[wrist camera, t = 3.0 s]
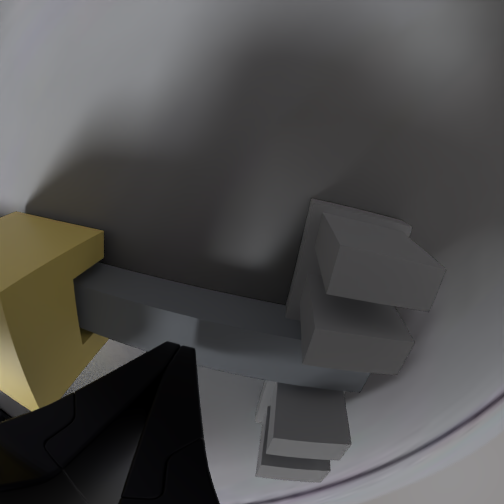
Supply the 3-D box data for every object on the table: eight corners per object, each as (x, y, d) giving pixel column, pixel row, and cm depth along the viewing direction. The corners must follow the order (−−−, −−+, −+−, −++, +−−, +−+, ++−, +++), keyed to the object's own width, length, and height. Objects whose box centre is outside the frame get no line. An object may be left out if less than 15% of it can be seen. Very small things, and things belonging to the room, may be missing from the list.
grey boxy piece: (402, 220, 8) (460, 263, 5) (322, 417, 12) (326, 484, 8) (311, 198, 9) (327, 230, 5) (256, 408, 12) (246, 477, 8)
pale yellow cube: (103, 230, 9) (-1, 292, 5) (109, 337, 11) (44, 419, 6) (16, 211, 10) (-72, 249, 5) (28, 304, 11) (-38, 358, 7)
